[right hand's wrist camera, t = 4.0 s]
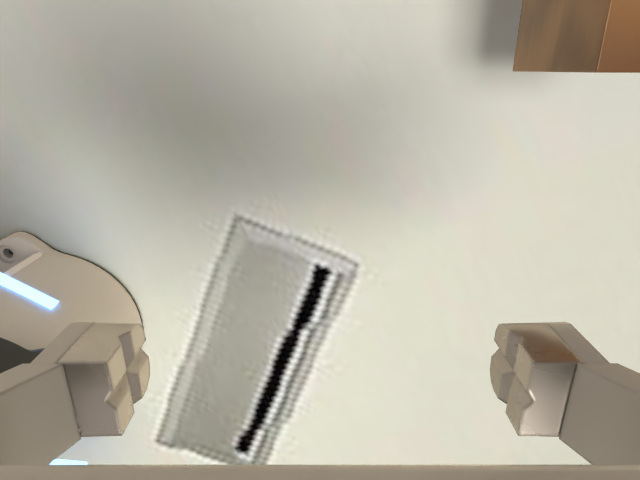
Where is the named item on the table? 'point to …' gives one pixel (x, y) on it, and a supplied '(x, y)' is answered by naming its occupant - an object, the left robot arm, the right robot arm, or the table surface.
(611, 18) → the box
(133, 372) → the right robot arm
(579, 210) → the table surface
